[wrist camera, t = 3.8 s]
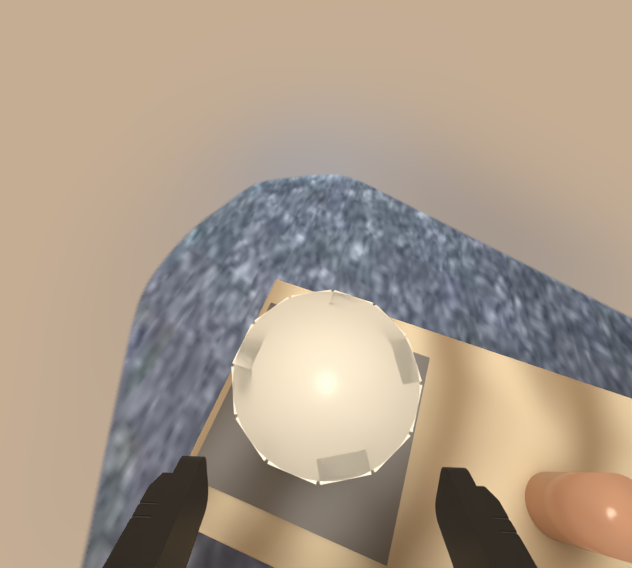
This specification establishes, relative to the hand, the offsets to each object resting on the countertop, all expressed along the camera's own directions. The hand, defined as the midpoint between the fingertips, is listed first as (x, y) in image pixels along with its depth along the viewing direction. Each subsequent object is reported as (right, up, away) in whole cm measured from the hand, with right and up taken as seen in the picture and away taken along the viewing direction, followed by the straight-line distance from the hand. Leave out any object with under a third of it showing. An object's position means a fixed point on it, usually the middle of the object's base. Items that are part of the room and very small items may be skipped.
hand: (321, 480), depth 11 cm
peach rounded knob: (+13, -5, +7) cm, 15 cm away
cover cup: (0, -1, +8) cm, 8 cm away
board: (+6, -4, +9) cm, 11 cm away
